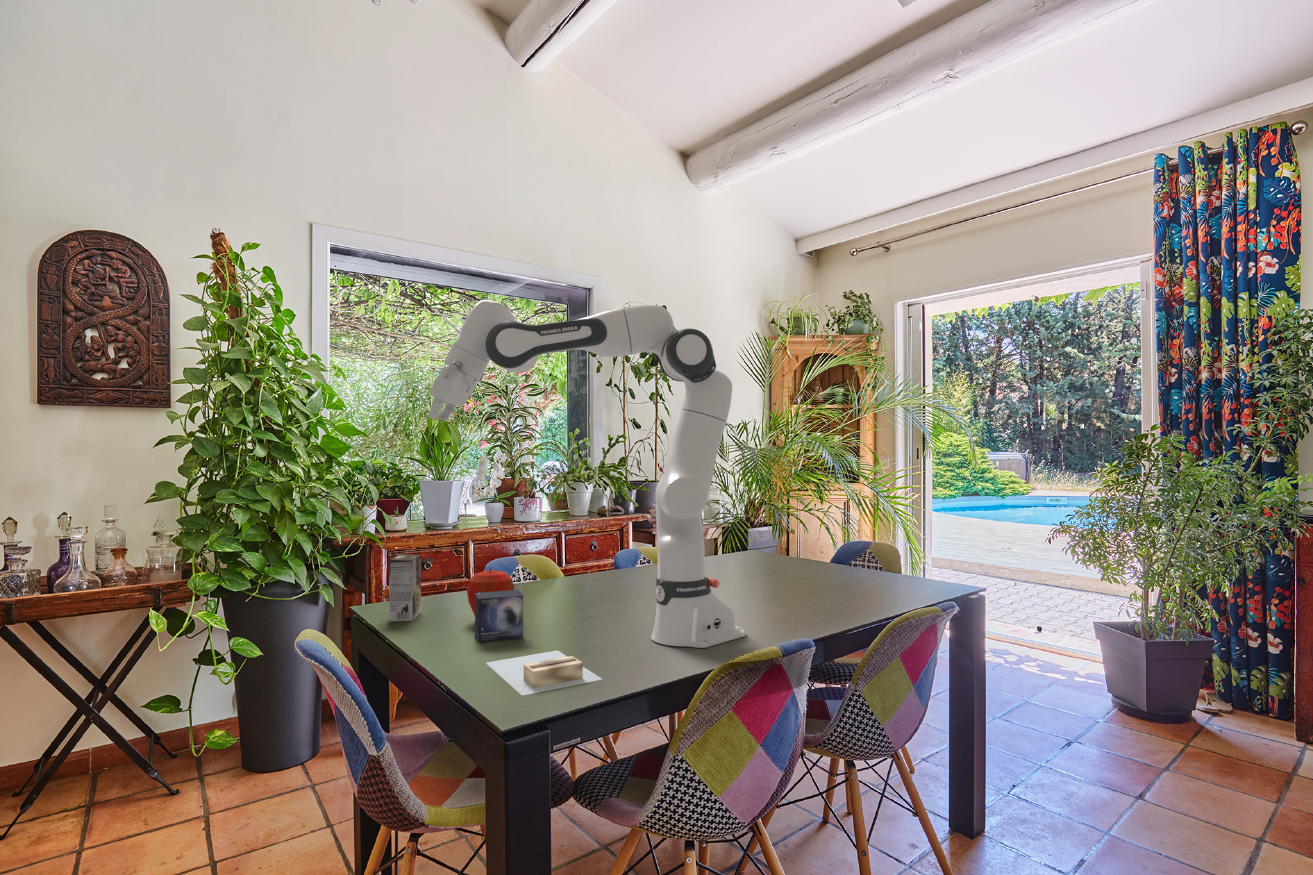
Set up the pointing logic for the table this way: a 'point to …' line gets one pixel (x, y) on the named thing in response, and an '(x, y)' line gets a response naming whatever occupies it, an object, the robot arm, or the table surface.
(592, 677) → the rubber mat
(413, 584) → the coffee box
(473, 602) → the apple
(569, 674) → the slotted wooden box
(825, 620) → the table surface
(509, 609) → the small box
